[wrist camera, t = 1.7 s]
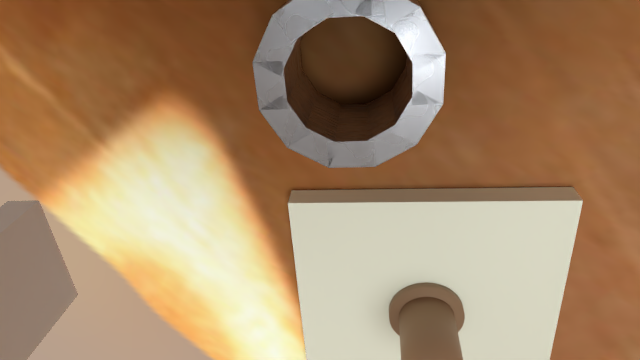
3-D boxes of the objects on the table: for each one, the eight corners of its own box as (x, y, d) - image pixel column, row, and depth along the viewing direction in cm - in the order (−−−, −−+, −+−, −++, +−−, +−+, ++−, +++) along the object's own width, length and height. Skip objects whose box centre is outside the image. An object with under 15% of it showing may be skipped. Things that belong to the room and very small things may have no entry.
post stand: (291, 190, 29) (257, 298, 21) (573, 186, 27) (658, 305, 19) (312, 374, 37) (294, 508, 28) (534, 382, 35) (583, 528, 26)
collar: (267, -25, 24) (242, -12, 19) (435, -37, 23) (449, -25, 18) (284, 128, 27) (267, 168, 23) (429, 124, 26) (440, 165, 22)
